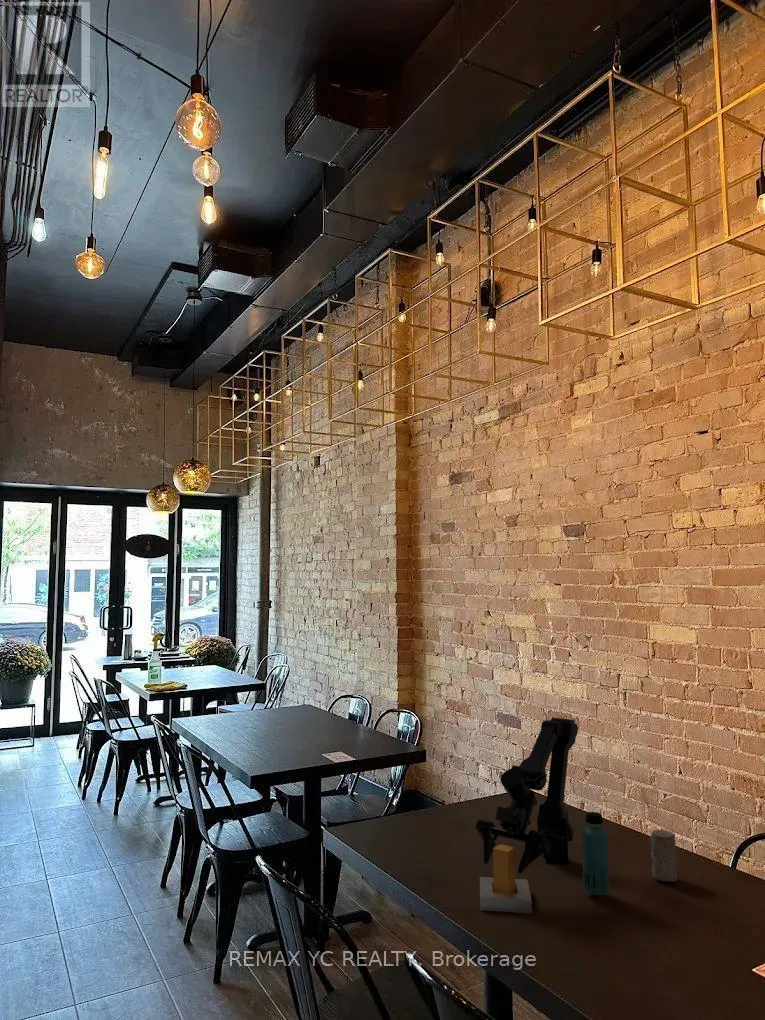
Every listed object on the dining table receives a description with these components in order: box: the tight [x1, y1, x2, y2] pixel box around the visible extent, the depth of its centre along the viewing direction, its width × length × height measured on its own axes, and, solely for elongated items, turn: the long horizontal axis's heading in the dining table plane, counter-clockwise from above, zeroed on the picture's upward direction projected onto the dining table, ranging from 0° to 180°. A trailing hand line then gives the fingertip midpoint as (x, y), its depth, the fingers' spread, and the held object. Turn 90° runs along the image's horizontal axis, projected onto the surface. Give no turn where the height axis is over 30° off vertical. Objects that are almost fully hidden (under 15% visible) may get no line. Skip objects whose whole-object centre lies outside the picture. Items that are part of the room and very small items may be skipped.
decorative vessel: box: [650, 829, 678, 883], centre depth 186 cm, size 6×8×12 cm
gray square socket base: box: [479, 876, 533, 914], centre depth 172 cm, size 12×12×3 cm
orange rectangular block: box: [492, 843, 516, 894], centre depth 173 cm, size 4×4×12 cm
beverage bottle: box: [581, 811, 610, 896], centre depth 176 cm, size 6×7×20 cm
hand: (501, 868), depth 172 cm, fingers open, 9 cm apart
